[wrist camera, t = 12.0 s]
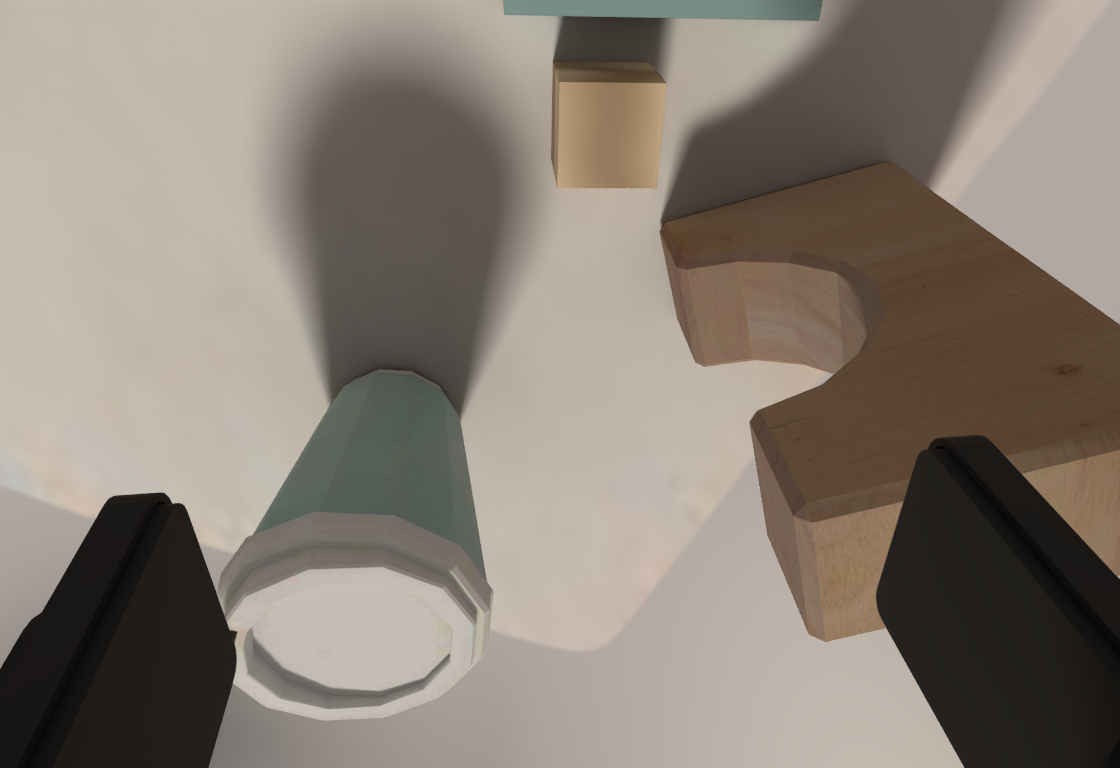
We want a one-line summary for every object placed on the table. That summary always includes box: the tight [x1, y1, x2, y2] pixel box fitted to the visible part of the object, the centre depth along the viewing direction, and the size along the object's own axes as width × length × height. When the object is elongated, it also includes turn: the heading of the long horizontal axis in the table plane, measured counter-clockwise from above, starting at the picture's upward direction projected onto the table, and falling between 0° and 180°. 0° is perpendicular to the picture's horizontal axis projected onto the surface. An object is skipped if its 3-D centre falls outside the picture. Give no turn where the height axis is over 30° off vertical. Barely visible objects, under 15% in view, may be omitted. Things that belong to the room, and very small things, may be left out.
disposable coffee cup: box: [217, 369, 493, 720], centre depth 35 cm, size 11×11×15 cm
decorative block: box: [660, 161, 1120, 642], centre depth 29 cm, size 11×6×20 cm, turn 104°
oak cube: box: [551, 61, 667, 188], centre depth 32 cm, size 4×4×4 cm
